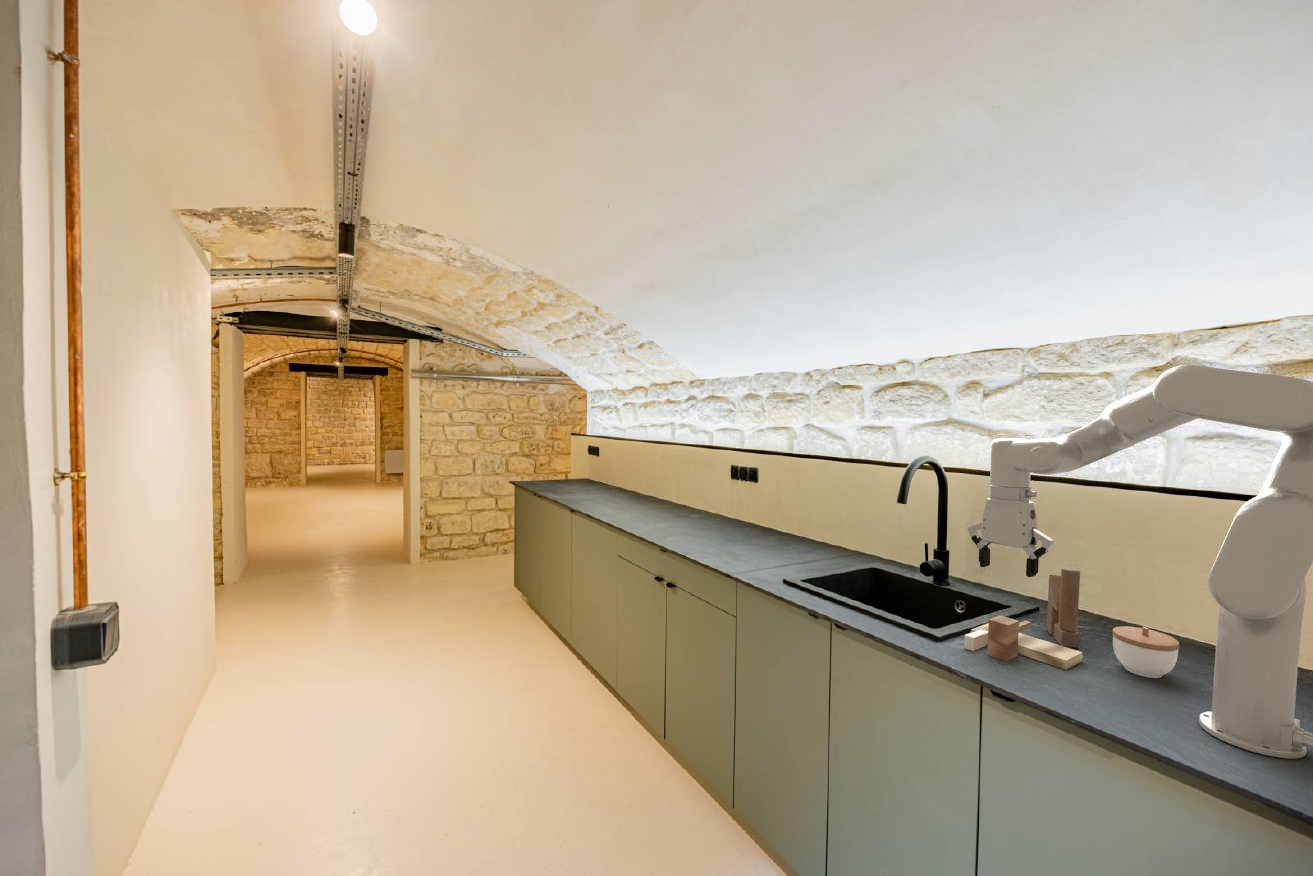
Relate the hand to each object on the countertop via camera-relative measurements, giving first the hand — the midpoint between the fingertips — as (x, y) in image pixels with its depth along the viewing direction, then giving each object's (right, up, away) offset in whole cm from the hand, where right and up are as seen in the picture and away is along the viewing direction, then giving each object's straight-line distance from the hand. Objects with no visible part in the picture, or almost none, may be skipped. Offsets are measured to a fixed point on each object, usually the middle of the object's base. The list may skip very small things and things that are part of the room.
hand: (1007, 571), depth 127 cm
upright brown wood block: (+3, -19, +4) cm, 20 cm away
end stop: (-4, -19, +6) cm, 20 cm away
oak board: (+7, -19, +5) cm, 21 cm away
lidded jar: (+25, -20, -6) cm, 33 cm away
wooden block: (+20, -19, +11) cm, 30 cm away
